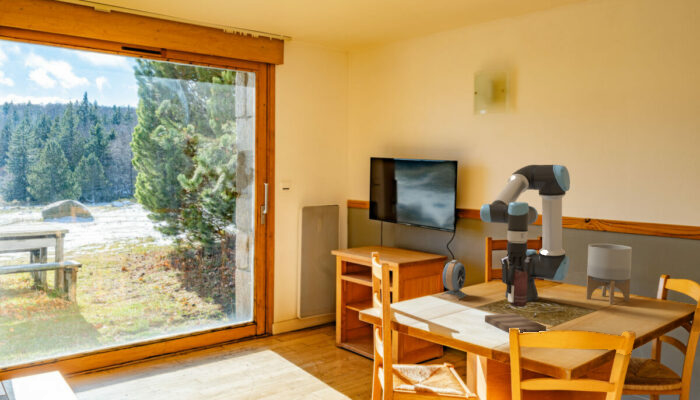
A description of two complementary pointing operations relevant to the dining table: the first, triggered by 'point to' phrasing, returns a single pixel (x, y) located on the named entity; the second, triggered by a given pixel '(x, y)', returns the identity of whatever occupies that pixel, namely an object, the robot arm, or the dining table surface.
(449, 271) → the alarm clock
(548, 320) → the dining table surface
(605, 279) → the planter
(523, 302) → the can
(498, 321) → the board
